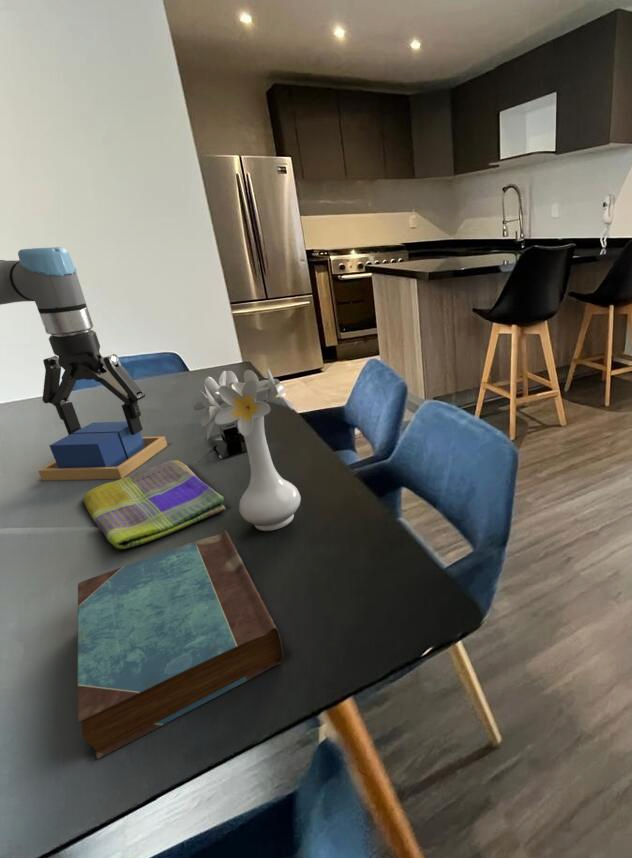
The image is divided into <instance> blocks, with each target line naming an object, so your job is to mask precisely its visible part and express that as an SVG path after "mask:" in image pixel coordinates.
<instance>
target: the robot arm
mask: <svg viewBox="0 0 632 858" xmlns="http://www.w3.org/2000/svg"><path fill="white" fill-rule="evenodd" d="M17 255H18V260H5V259H0V305H1V306H2V305H7V304H14V303H20V302H21V303H22V302H34V303H35V305H36V308H37V311H38V313H39V316H40V319H41V323H42V325H43V328H44V331H45V333H46V334H47V335H49V338H48V342H49V344H50V347H51V349H52V353H53V354H54V355H53V356H50V357H47V358H44V359H43V360H42V361H43V365H44V371H45V373H44V381H43V390H42V391H43V392H42V400H41V401H42V403H44V404H51V405H53V407H55V410H56V412H57V414H58V417H59V419H60V420H61V421H63V424H64V427H65V429H66V431H67V434H68V435H70V434H73V433H74V432H76V431H78V430H79V429H81V428H82V426H81V424H80V421H79V418H78V416H77V413H76V410H75V408H74V407H75V406H74V404H73V402H72V401H70V399H69V397H70V396H71V394H72V392H73V389H74V387H75V385H76V383H77V381H81V380H86V381H90V380H91V381H92V380H94V381H95V382H97V383H100V384H101V385H102V386H104V387H105V388H106V389H107V390H108V391H109V392H111V393H112V394H113V395H114V396H116V398H118V399H119V400H120V401H122V402H123V404H121V408H122V411H123V414H124V418H125V421H127V424H128V427H129V430H130V433H131V435H135V434H137V433H138V432H140V433H141V431H143V425H142V421H141V419H140V417H141V416H142V413H141V409H140V407H139V406H140V405H139V403H138V401H140V400H142V399H143V398H145V397H146V393H145V391H144V390H143V389H142V388H141V387H140V385H138V384H137V382H136V381H135V380H134V378H133V377H132V376H131V374H129V373H128V371H127V369H125V368H124V366H123V365H122V363H121V361H120V358H119V356H118V355H117V354H115V353H113V354H110V355H108V356H103V355H101V353H100V350H101V349H100V348H101V345H100V342H99V338H98V335H97V332H96V331H94V330H93V328H94V325H93V324H94V323H93V320H92V318H91V314H90V311H89V309H88V305H87V303H86V299H85V296H84V293H83V289H82V287H81V283H80V280H79V276H78V273H77V268H75V267H76V266H75V265H74V262H73V261H72V258H71V255H70V253H69V251H68V250H67V249H66V248H64V247H61V246H55V247H54V246H53V247H51V246H50V247H35V248H33V247H32V248H21V249H20V250H18V252H17ZM62 369H63V370H64V371H63V373H62ZM61 373H62V374H61ZM61 375H62V376H61Z"/></svg>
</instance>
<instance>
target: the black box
mask: <svg viewBox="0 0 632 858" xmlns="http://www.w3.org/2000/svg"><path fill="white" fill-rule="evenodd" d="M218 428H219V432H220V437H219V438H217V439H214V442H215V443H216V445H215V446H213V448H214V449H215V451H216V452H217V454H218V457H219V458H220V459H221V460H225V459H228V458H231V457H234V456H238V455H241V454H244V453H248V452H247V447H246V443H245V439H244V436H243V435H242V434H241V433H240V431H239V429H238V425H236V424H235V423H234V421H233V422H230V423H228V424H222V425H219V424H218Z"/></svg>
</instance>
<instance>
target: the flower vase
mask: <svg viewBox="0 0 632 858" xmlns="http://www.w3.org/2000/svg"><path fill="white" fill-rule="evenodd" d="M266 370H267V379H263V380H259V377H258V375H257V374H256V373H255V372H254V371H253V370H251V369H246V370H244V372H243V380H244V382H240V381H239V379H238V377H237V376H236V374H235V372H234V371H232V370H223V371H222V372H221V374H220V376H219V379H218V383H217V381H216V379H214V377H211V376H207V377H206V378H205V380H204V385H203V390H204V392H203V391H202V390H199V392H198V395H199V398H200V399H199V400H198V401H197V402H196V403H195V404H194V406H193V410H194V411H200V410H203V409H205V411H204V412H203V413H202V415H201V417H200V424H201V425H200V426H201V427H202V428H205V427H206V426H207V425H208V426H207V428H206V441H208V440H209V439H210V436H211V434H212V432H213V430H214V428H215V426H216V425H218V426H219V425H223V424H228V423H231V422H233V423H234V421H236V422H237V430H238V432H240V433H241V434H242V435H243V436H244V439H245V443H246V447H247V452H246V453H247V457H248V463H249V467H250V478H249V482H248V486H247V488H246V489H245V491H244V492H243V493H242V495H241V498H240V500H239V503H238V510H239V511H238V512H239V515H240V516H241V517H242V519H243V520H244V521H245V522H247V523H250V524H251V525H253V526H254V527H255V528H256V529H257V530H258V531H262V532H271V531H272V532H273V531H277V530H280V529H282V528H285V527H286V526H288V525H289V524H290V523H292V521H293V520H294V517H295V513H296V512H297V510H298V509H299V508H300V505H301V501H302V497H301V494H300V491H299V489H298V488H297V487H296V486H295V485H294V484H293V483H292V482H290V481H289V480H286V478H285V479H284V478H283V477H282V476H281V475H280V474H279V472H278V470H277V469H276V467H275V465H274V463H273V460H272V456H271V452H270V449H269V446H268V441H267V437H266V430H265V416H267V415H268V414H270V412H271V409H272V408H271V406H270V405H269V404H268V403H269V402H271V403H273V404H275V405H279V406H283V407H285V408H287V409H289V410H292V411H294V412H298V409H297V408H296V407H295V406H294V405H293V403H292V402H290V401H289V400H288V399H286V398H284V397H286V395H287V392H286V389H285V387H284V386H283V384H281V381H280V380H279V379H278V378H274V377H273V374H272V372H271V371H270V369H269V368H267V369H266Z"/></svg>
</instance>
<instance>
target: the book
mask: <svg viewBox="0 0 632 858" xmlns="http://www.w3.org/2000/svg"><path fill="white" fill-rule="evenodd" d="M283 662H284V650H283V644H282V640H281V636H280V633H279V630H278V628H277V626H276V624H275V622H274V620H273V618H272V616H271V614H270V613H269V610H268V609H267V606H266V604H265V603H264V600H263V599H262V597H261V594H260V592H259V591H258V589H257V587H256V585H255V583H254V581H253V579H252V577H251V575H250V574H249V571H248V570H247V568H246V566H245V564H244V561H243V559H242V558H241V556H240V554H239V552H238V550H237V548H236V546H235V544H234V542H233V540H232V538H231V536H230V534H229V532H228V531H227V530H222V531H221V532H220V533H218V534H217V535H212V536H208V537H204V538H202V539H199V540H195V541H192V542H189V543H185V544H183V545H181V546H178V547H174V548H172V549H169V550H166V551H163V552H160V553H158V554H155V555H151V556H149V557H147V558H144V559H141V560H138V561H136V562H132V563H129V564H126V565H124V566H120V567H118V568H116V569H113V570H110V571H108V572H107V571H106V572H105V573H102V574H99V575H96V576H94V577H93V576H92V577H91V578H87V579H85V580H82V581H79V582H78V583H77V680H76V681H77V685H76V686H77V689H76V690H77V693H76V695H77V696H76V697H77V699H76V700H77V701H76V702H77V703H76V706H77V707H76V708H77V709H76V710H77V711H76V712H77V713H76V714H77V723H80V722H81V734H82V737H83V740H84V741H85V742H86V743H87V744H88V745H89V746H91V747H92V748H93V749H94V750H95V758H96V760H99V759H102V758H103V757H106V756H107V755H109V754H111V753H113V752H116V751H117V750H119V749H120V748H123V747H124V746H127V745H128V744H130V743H132V742H134V741H136V740H138V739H140V738H142V737H144V736H145V735H147V734H150V733H151V732H153V731H155V730H157V729H159V728H161V727H163V726H164V725H166V724H168V723H171V722H172V721H174V720H176V719H178V718H179V717H180V718H181V716H183V715H186V714H188V713H190V712H191V711H193V710H195V709H197V708H198V707H199V708H200V707H201V706H203V705H204V704H206V703H208V702H210V701H212V700H214V699H216V698H218V697H220V696H221V695H224V694H226V693H227V692H230V691H232V690H233V689H235V688H237V687H239V686H240V685H243V684H244V683H246V682H248V681H250V680H252V679H254V678H256V677H258V676H259V675H261V674H263V673H264V672H266V671H268V670H270V669H272V668H274V667H276V666H279V665H281V664H282V663H283Z"/></svg>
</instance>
